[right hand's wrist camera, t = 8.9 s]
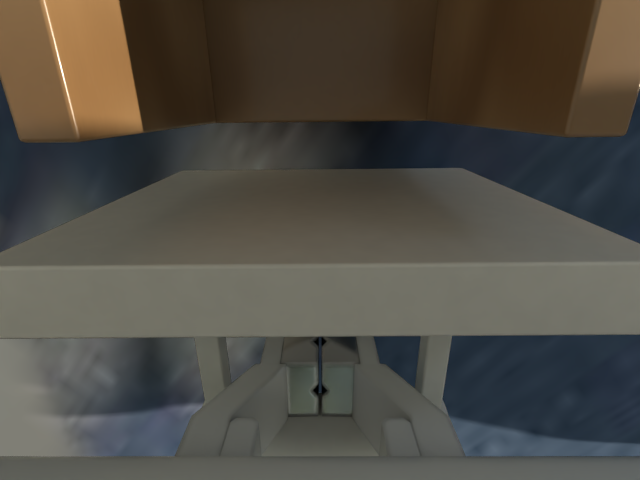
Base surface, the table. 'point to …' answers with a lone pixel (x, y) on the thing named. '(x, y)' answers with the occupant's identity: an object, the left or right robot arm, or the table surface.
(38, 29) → the drawer
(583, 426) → the table surface
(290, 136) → the table surface
